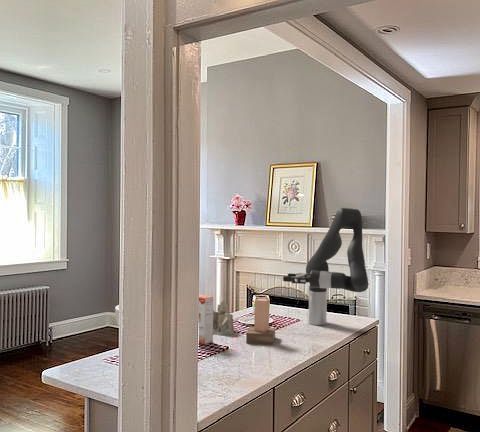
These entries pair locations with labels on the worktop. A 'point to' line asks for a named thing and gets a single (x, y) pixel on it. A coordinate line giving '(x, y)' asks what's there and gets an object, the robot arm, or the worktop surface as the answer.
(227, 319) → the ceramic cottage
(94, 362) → the worktop surface
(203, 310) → the cracker box
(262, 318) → the terracotta block
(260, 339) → the walnut base
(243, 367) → the worktop surface
